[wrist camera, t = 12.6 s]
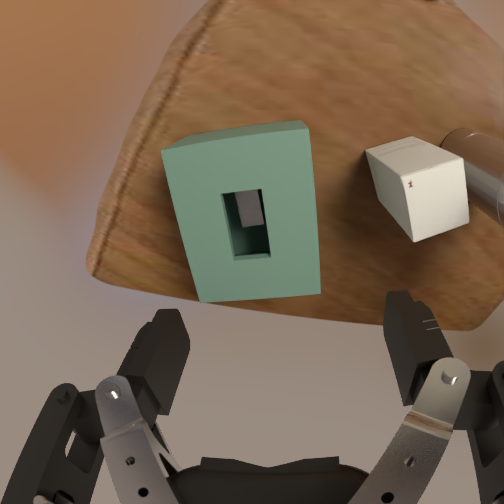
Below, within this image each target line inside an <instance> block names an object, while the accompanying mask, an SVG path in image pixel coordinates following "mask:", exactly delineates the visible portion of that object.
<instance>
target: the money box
mask: <svg viewBox="0 0 504 504" xmlns="http://www.w3.org/2000/svg"><path fill="white" fill-rule="evenodd" d="M161 154H162V159H163V163H164V168H165V172H166V176H167V180H168V185H169V189H170V193H171V197H172V201H173V205H174V209H175V213H176V217H177V221H178V225H179V229H180V232H181V236H182V240H183V244H184V247H185V251H186V255H187V258H188V262H189V265H190V269H191V273H192V276H193V279H194V283H195V286H196V290H197V293H198V297H199V300H200V303H205V302H222V301H238V300H252V299H265V298H278V297H290V296H301V295H312V294H321V286H320V262H319V243H318V227H317V213H316V199H315V187H314V176H313V165H312V155H311V146H310V136H309V129H308V127H307V126H306V125H305V124H304V123H303V122H302V121H301V120H292V121H282V122H274V123H265V124H257V125H250V126H243V127H236V128H230V129H223V130H217V131H212V132H206V133H200V134H195V135H190V136H187V137H185V138H183V139H181V140H179V141H178V142H176V143H174V144H172V145H170V146H168V147H167V148H165V149H163V150H161ZM255 189H262V195H263V202H264V209H265V221H264V224H262V225H255V226H248V227H242V223H241V218H240V214H239V210H238V205H237V201H236V197H235V192H239V191H247V190H255Z"/></svg>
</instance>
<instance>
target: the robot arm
mask: <svg viewBox="0 0 504 504" xmlns="http://www.w3.org/2000/svg"><path fill="white" fill-rule="evenodd" d="M441 148H442V149H444V150H446V151H448V152H451V153H453V154H455V155H457V156H459V157H461V158H463V162H464V170H465V178H466V189H467V198H468V201H470V202H471V203H472V204H474V205H475V206H476V207H478V208H479V209H480V210H482V211H483V212H484V213H485V214H487V215H488V216H489V217H491V218H492V219H493V220H494V221H496V222H497V223H498V224H499V225H500V226H502V227H503V228H504V141H503V140H500V139H497V138H494V137H491V136H489V135H486V134H483V133H480V132H477V131H474V130H471V129H465V128H462V129H457V130H455V131H453V132H451V133H450V134H449V135H448V136H447V137H446V139H445V140H444V141H443V143H442V146H441ZM383 329H384V337H385V341H386V344H387V347H388V351H389V354H390V358H391V361H392V364H393V368H394V372H395V375H396V379H397V382H398V386H399V390H400V394H401V398H402V402H403V406H408V405H413V407H412V409H411V411H410V412H409V414H407V416H406V417H405V419H404V421H403V422H402V424H401V426H400V427H399V429H398V431H397V432H396V434H395V436H394V437H393V439H392V441H391V442H390V444H389V446H388V447H387V449H386V451H385V452H384V453H383V455H382V457H381V458H380V460H379V461H378V463H377V464H376V466H375V467H374V469H373V470H372V471H371V473H370V474H369V473H367V472H365V471H363V470H361V469H358V468H356V467H352V466H348V465H342V464H339V456H337V457H326V458H314V459H302V460H299V461H295V462H291V463H287V464H283V465H279V466H274V467H262V466H258V465H254V464H250V463H246V462H242V461H238V460H235V459H221V458H208V457H202V459H201V464H200V465H197V466H193V467H190V468H186V469H183V470H182V469H181V467H180V466H179V464H178V463H177V461H176V460H175V458H174V457H173V455H172V453H171V451H170V449H169V447H168V445H167V443H166V441H165V439H164V437H163V435H162V432H161V430H160V428H159V426H158V424H157V422H156V418H157V415H158V414H159V415H169V412H170V409H171V406H172V403H173V400H174V396H175V393H176V390H177V387H178V384H179V381H180V378H181V375H182V372H183V369H184V366H185V363H186V360H187V357H188V354H189V351H190V339H189V335H188V333H187V330H186V328H185V325H184V323H183V320H182V317H181V314H180V312H179V310H178V309H159V310H158V311H157V312H156V314H155V316H154V318H153V320H152V322H147V323H146V325H144V326H143V327H142V328H141V329H140V330H139V332H138V333H137V335H136V337H135V339H134V340H135V341H133V343H132V345H131V349H129V351H128V353H127V354H126V357H125V358H124V360H123V362H122V364H121V366H120V368H119V370H118V372H117V374H116V375H115V376H110V377H108V378H106V379H104V380H103V381H101V382H100V383H99V385H98V386H97V388H96V390H90V391H84V392H79V391H78V390H77V389H76V387H75V386H74V385H73V384H70V383H64V384H61V385H59V386H57V387H56V388H54V389H53V390H52V392H51V393H50V395H49V397H48V399H47V401H46V402H45V405H44V406H43V408H42V410H41V412H40V414H39V416H38V418H37V420H36V422H35V424H34V427H33V429H32V431H31V433H30V435H29V437H28V439H27V441H26V444H25V446H24V448H23V450H22V452H21V455H20V457H19V459H18V461H17V464H16V466H15V469H14V471H13V473H12V475H11V478H10V481H9V483H8V485H7V488H6V491H5V493H4V496H3V499H2V501H1V504H90V501H91V497H92V494H93V491H94V487H95V484H96V481H97V478H98V474H99V471H100V468H101V465H102V462H103V459H104V457H105V459H106V463H107V466H108V469H109V472H110V475H111V478H112V481H113V484H114V486H115V489H116V492H117V495H118V497H119V500H120V503H121V504H417V503H418V501H419V499H420V498H421V496H422V494H423V492H424V491H425V489H426V487H427V485H428V483H429V482H430V480H431V478H432V476H433V474H434V472H435V470H436V468H437V466H438V464H439V462H440V460H441V458H442V456H443V454H444V452H445V449H446V447H447V445H448V443H449V440H450V438H451V435H452V432H453V430H467V434H468V438H469V442H470V446H471V451H472V455H473V460H474V465H475V470H476V476H477V482H478V488H479V494H480V501H481V504H504V361H501V362H499V363H498V364H497V365H496V366H495V367H494V369H493V371H492V372H491V371H472V370H469V368H468V367H467V365H466V364H465V363H464V362H462V361H461V360H459V359H456V358H454V357H453V355H452V352H451V350H450V348H449V346H448V344H447V342H446V340H445V338H444V336H443V334H442V332H441V329H439V325H438V323H437V321H435V317H434V316H433V314H432V312H431V310H430V308H428V307H427V306H426V305H425V304H424V303H422V302H421V301H417V302H413V300H412V298H411V296H410V294H409V292H408V290H406V289H405V290H398V291H390V292H388V293H387V296H386V306H385V315H384V324H383ZM72 431H73V432H74V433H75V434H76V436H75V438H74V441H73V443H72V446H71V448H70V451H69V453H68V456H67V457H66V455H65V448H66V445H67V443H68V440H69V438H70V435H71V433H72Z"/></svg>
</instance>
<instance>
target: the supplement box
mask: <svg viewBox="0 0 504 504" xmlns="http://www.w3.org/2000/svg"><path fill="white" fill-rule="evenodd" d="M365 152H366V156H367V159H368V163H369V166H370V170H371V173H372V177H373V181H374V185H375V189H376V193H377V197H378V200H379V201H380V202H381V204H382V205H383V206H384V207H385V208H386V209H387V211H388V212H389V213H390V214H391V215H392V216H393V218H394V219H395V220H396V221H397V223H398V224H399V225H400V226H401V227H402V229H403V230H404V231H405V232H406V234H407V235H408V236H409V237H410V239H411V240H412V241H413V242H417V241H420V240H423V239H426V238H428V237H431V236H434V235H437V234H440V233H442V232H445V231H448V230H451V229H454V228H456V227H459V226H462V225H465V224H467V223H469V210H468V198H467V189H466V178H465V170H464V162H463V158H461V157H459V156H457V155H455V154H453V153H451V152H448V151H446V150H444V149H442V148H439V147H437V146H435V145H432V144H430V143H428V142H425V141H423V140H420V139H418V138H415V137H413V136H411V137H408V138H404V139H400V140H397V141H393V142H390V143H386V144H383V145H380V146H376V147H373V148H370V149H366V150H365Z"/></svg>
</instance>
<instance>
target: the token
mask: <svg viewBox="0 0 504 504" xmlns="http://www.w3.org/2000/svg"><path fill="white" fill-rule="evenodd" d="M235 197H236V201H237V205H238V210H239V214H240V218H241V223H242V227H248V226H255V225H262V224H264V221H265V209H264V202H263V195H262V189H255V190H247V191H239V192H235Z"/></svg>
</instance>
